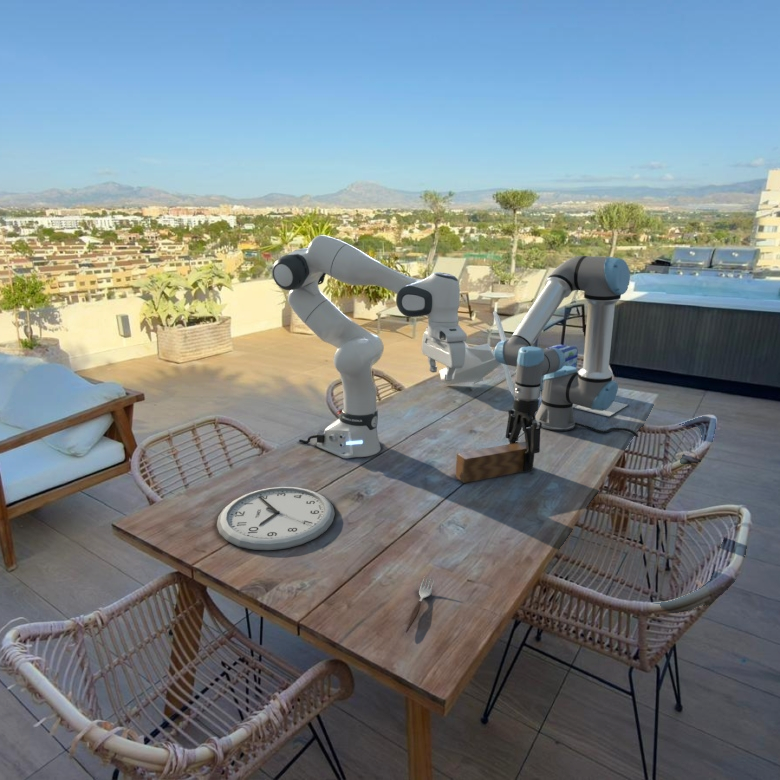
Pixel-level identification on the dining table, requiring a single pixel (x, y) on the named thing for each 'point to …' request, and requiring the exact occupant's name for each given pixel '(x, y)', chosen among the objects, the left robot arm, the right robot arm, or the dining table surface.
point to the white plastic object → (479, 363)
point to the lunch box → (569, 354)
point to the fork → (423, 593)
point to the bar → (490, 462)
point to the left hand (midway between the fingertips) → (440, 375)
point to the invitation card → (609, 411)
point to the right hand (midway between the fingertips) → (519, 465)
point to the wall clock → (275, 518)
